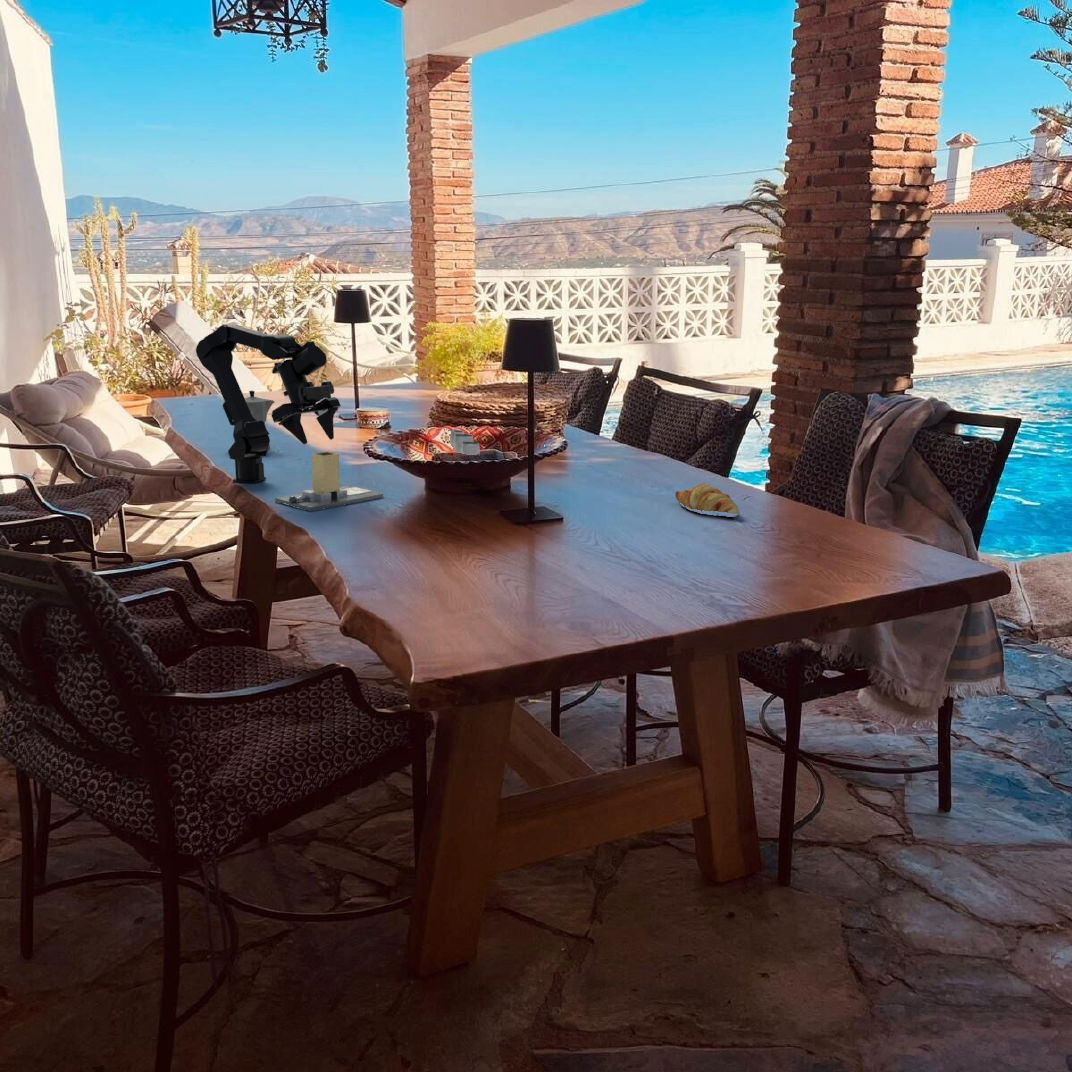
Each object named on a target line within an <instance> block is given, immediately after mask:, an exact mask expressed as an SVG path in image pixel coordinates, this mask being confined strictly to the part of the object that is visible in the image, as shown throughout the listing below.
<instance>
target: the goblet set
mask: <svg viewBox="0 0 1072 1072" xmlns="http://www.w3.org/2000/svg"><path fill="white" fill-rule="evenodd" d="M446 430H447V429H446ZM448 431H451V434H450V444H451V446H452V447H454V449H455V452H456V453H462V454H466V455H477V454H479V455H480V452H481V450H480V449H481V448H480V447H481V446H480V443H479V442H478V441H474V435H473V434H471V433H464V431H463V430H459V429H456V428H455V429H454V430H448Z"/></svg>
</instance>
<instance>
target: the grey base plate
mask: <svg viewBox="0 0 1072 1072" xmlns="http://www.w3.org/2000/svg"><path fill="white" fill-rule="evenodd" d="M383 498H384V493H383V492H378V491H374V490H369V489H367V488H362V487H357V486H351V485H348V484H347V485H342V486H340V491H334V492H329V493H322V492H318V491H314V490H313V489H305V490H302V492H301V493H296V494H291V495H285V496H280V497H279V496H278V497H275V498H274V502H275V503H277V502H279V503H278V504H280V503H286V504H289V505H292V506H295V507H299V508H302V509H305V510H304V511H306V510H309V511H308V512H310V511H311V512H315V511H314V510H316V511H320V510H319V509H321V510H324V509H323V508H327V509H330V508H329V507H332V508H335V507H334V506H337V507H340V506H339V505H342V506H345V505H344V504H348V505H351V504H350V503H353V504H358V503H362V502H369V501H372V500H374V501H375V500H378V499H383ZM295 507H294V508H295ZM299 508H298V509H299ZM302 509H301V510H302Z"/></svg>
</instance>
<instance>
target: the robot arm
mask: <svg viewBox="0 0 1072 1072" xmlns="http://www.w3.org/2000/svg"><path fill="white" fill-rule="evenodd" d="M238 344H240V345H241V346H246V347H249V348H253V349H256V350H258V351H260V352H261V354H262V355H263V356H265V357H267V358H269V360H270V359H271V360H284V361H282V362H275V363H274V365H273V368H272V370H271V374H272V375H273V374H274V375H276V374H279V376H280V378H281V379H280V380H281V381H282V383H283V386H284V389H285V390H284V391H283V393H282V394H283V396H284V397H288V398H289V400H290V402H288V403H283V404H281V405H279V406H278V407H276V408H274V409H273V410H272V411H271V419H272V421H273V423H278V425H279V426H282V427H283V428H285V430H287V431H288V432H290V434H292V435H293V436H294V437H295V438H296V439H297V440H298V441H299V442H300V443H302V444H303V445H306V444H308V439H307V435H306V433H305V431H304V428H303V424H302V422H301V420H302V419H301V418H302V414H309V413H314V415H316V416H317V417H316V418H315V419H316V420H317V422H318V424H319V425H320V427H321V428H322V430H323V432H324V433H325V434H326V436H327V437H328V439H329V440H330V441H331V440H333V439H334V438H335V436H334V435H335V434H334V433H335V431H334V418H335V414H336V412H338V411H339V408H340V407H341V403H340V401H339V399H338V398H337V397H335V396H333V397H332V395H333V394H334V393H335V388H334V387H335V386H334V385H333V383H332V381H322V382H321V385H320V386H315V385H314V383H313V381H309V380H308V378H307V376H308V377H309V376H311V375H312V374H313V373H315V372H317V371H318V370H319V369H321V368H323V367H324V366H325V365H326V364H327V362H328V361H327V355H326V353H325V352H324V350H323V349H322V348H321V347H319V346H317V345H316V344H315V342H314V341H313V340H310V341H306V342H305V343H304V344H303V345H302V344H300V343H299V342H298V341H296V337H294V336H293V335H290V334H268V333H264V332H262V331H258V330H254V329H251V328H247V327H244V326H241V325H239V324H237V323H226V324H224V323H223V324H222V325H220V326H219V327H218V328H217V329H216V330H215V331H213V332H211V333H209V334H208V335H206V336H205V337H204V338H203V339H200V340H199V341H198V343H197V345H196V347H195V354H196V356H197V359H199V362H200V363H201V365H202V366H203V368H204V369H206V370H207V371H208V372H209V373H210V374H212V376H213V377H214V380H215V382H216V384H217V387H218V390H219V391H220V395H222V398H223V400H224V402H225V403H226V405H227V408H228V410H229V412H230V415H231V417H232V419H233V422H234V425H233V432H232V437H233V439H234V442H233V444H232V445H231V446H230V448H229V449H228V450H227V453H228V456H229V459H230V460H234V467H235V478H233V479H232V482H236V483H248V484H256V483H259V482H262V481H264V480H267V477H265V465H264V462H263V457H267V455H268V450H269V449H268V446H269V444H270V442H271V440H270V436H269V435H270V432H269V431H268V430H267V427H266V424H265V423H266V422H265V423H264V422H263V421H262V420H261V421H257V420H255V419H254V418H253V417H252V414H251V412H250V410H249V407H248V405H247V403H246V401H245V398H246V397H244V393H243V390H242V389H241V387H240V385H239V382H238V379H237V378H236V375H235V373H234V371H233V368H232V366H233V360H234V357H233V356H234V355H233V353H232V352H233V351H234V349H236V348H237V345H238ZM285 359H286V360H285Z"/></svg>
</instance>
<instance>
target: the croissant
mask: <svg viewBox="0 0 1072 1072" xmlns="http://www.w3.org/2000/svg"><path fill="white" fill-rule="evenodd" d="M674 494H675V499H676V500H677V502H678V504H679V503H682V504H683V505H684V506H687V507H689V508H691V509H697V510H701V511H702V510H704V511H718V512H727V513H732V514H738V513H739V514H740V510H739V508H738V505H737V504H736V503H735V502H734V501H733V500H732V498H731V496H730V495H729V494H726V493H722V490H720V489H719V488H718V487H716V486H713V485H711V484H706V483H700V484H698V485H696V486H694V487H690V488H689V489H683V490H681V491H675V493H674Z"/></svg>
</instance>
